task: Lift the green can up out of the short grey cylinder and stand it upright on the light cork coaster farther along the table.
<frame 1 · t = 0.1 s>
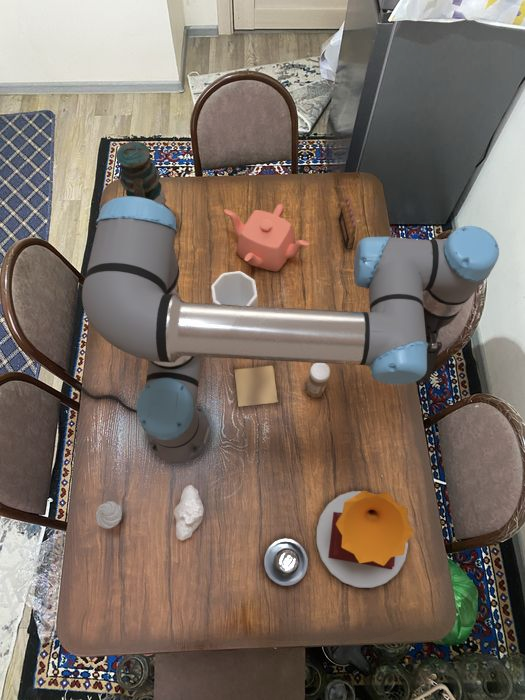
hand: (407, 348, 106), 28 cm above the table, tool pointing down, fingers open, 13 cm apart
green can: (284, 562, 116), resting on grey cylinder
sprinkles bottle: (314, 389, 132), on the table
cup: (237, 325, 139), on the table
lantern: (152, 227, 151), on the table
grey cylinder: (284, 562, 116), on the table
ice cream cone: (121, 519, 119), on the table
coaster: (255, 386, 132), on the table
gramophone: (360, 538, 118), on the table
white rock: (191, 514, 120), on the table
ammunition clip: (345, 234, 150), on the table
pot: (264, 253, 148), on the table
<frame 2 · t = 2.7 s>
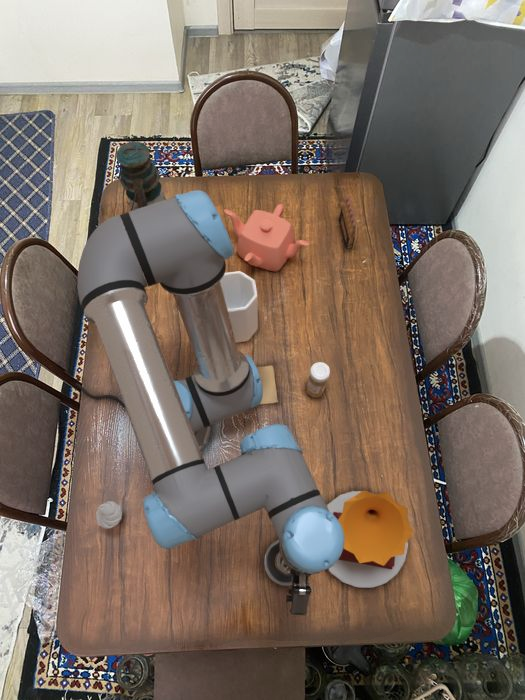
hand: (296, 550, 95), 23 cm above the table, tool pointing down, fingers open, 13 cm apart
nothing on the table moved.
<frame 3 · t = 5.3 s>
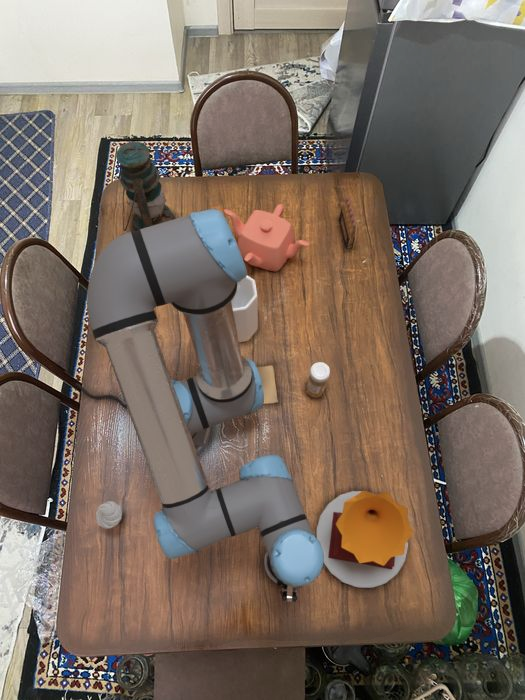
hand: (286, 561, 108), 8 cm above the table, tool pointing down, fingers closed on green can, 5 cm apart
green can: (284, 562, 116), resting on grey cylinder, touching gripper
everything else where it was.
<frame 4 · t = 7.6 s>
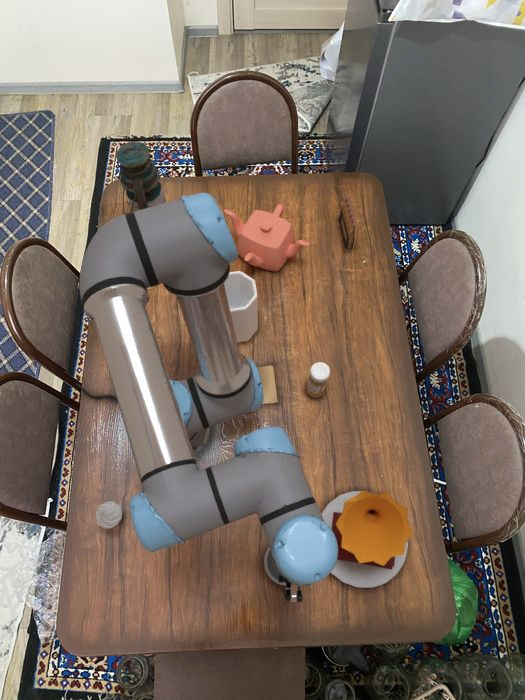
hand: (289, 555, 94), 24 cm above the table, tool pointing down, fingers closed on green can, 5 cm apart
green can: (286, 555, 102), point 15 cm above the table, touching gripper
everything else where it was.
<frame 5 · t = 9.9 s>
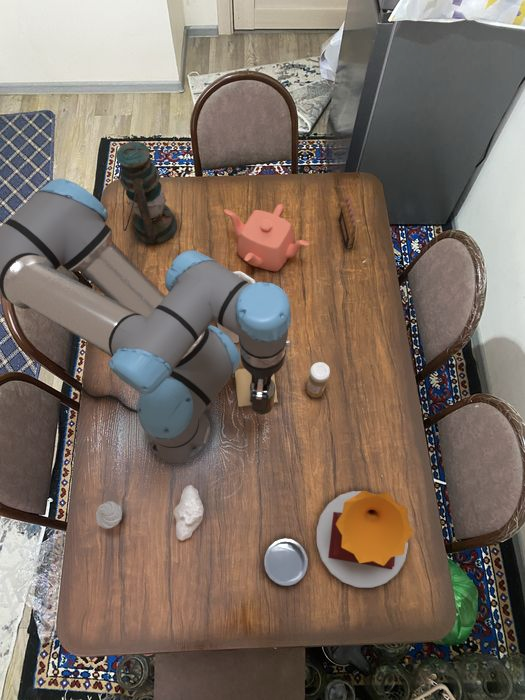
hand: (262, 392, 105), 25 cm above the table, tool pointing down, fingers closed on green can, 5 cm apart
green can: (262, 404, 113), point 17 cm above the table, touching gripper
everything else where it was.
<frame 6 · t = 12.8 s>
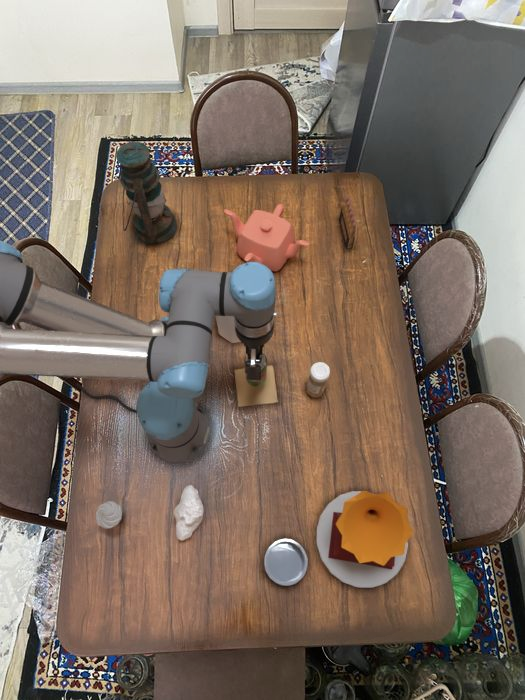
hand: (255, 365, 119), 14 cm above the table, tool pointing down, fingers closed on green can, 5 cm apart
green can: (256, 377, 126), point 6 cm above the table, touching gripper
everything else where it was.
when the fingers open (8 cm above the table, at t = 14.6 s): green can stays where it is, resting on coaster.
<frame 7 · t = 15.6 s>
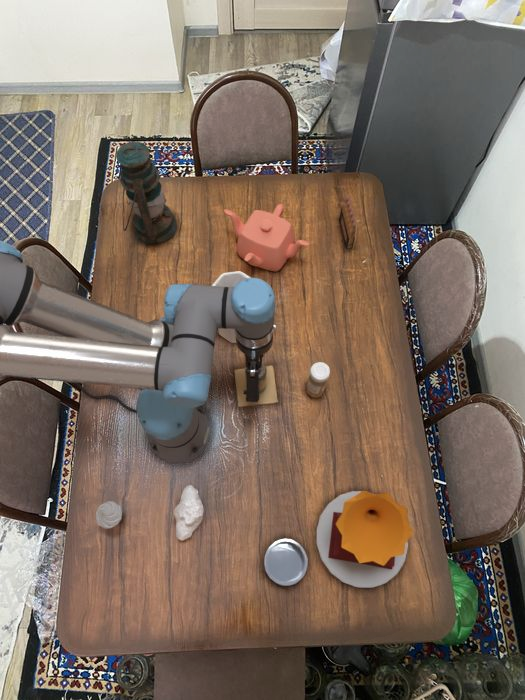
hand: (255, 370, 121), 11 cm above the table, tool pointing down, fingers open, 13 cm apart
green can: (256, 385, 132), resting on coaster
everything else where it was.
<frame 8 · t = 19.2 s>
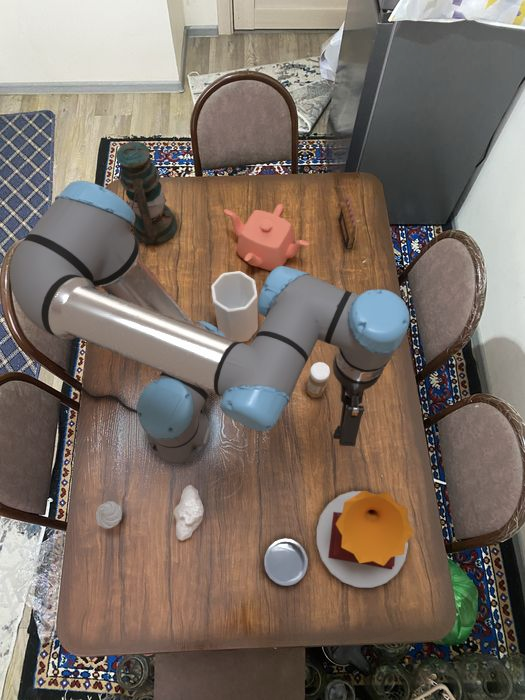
hand: (340, 401, 97), 32 cm above the table, tool pointing down, fingers open, 13 cm apart
nothing on the table moved.
at the end: green can inside the target area on the coaster (0.1 cm from its centre), point 0.2 cm above the coaster's base; green can tilted 0°; the gripper is holding nothing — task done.
